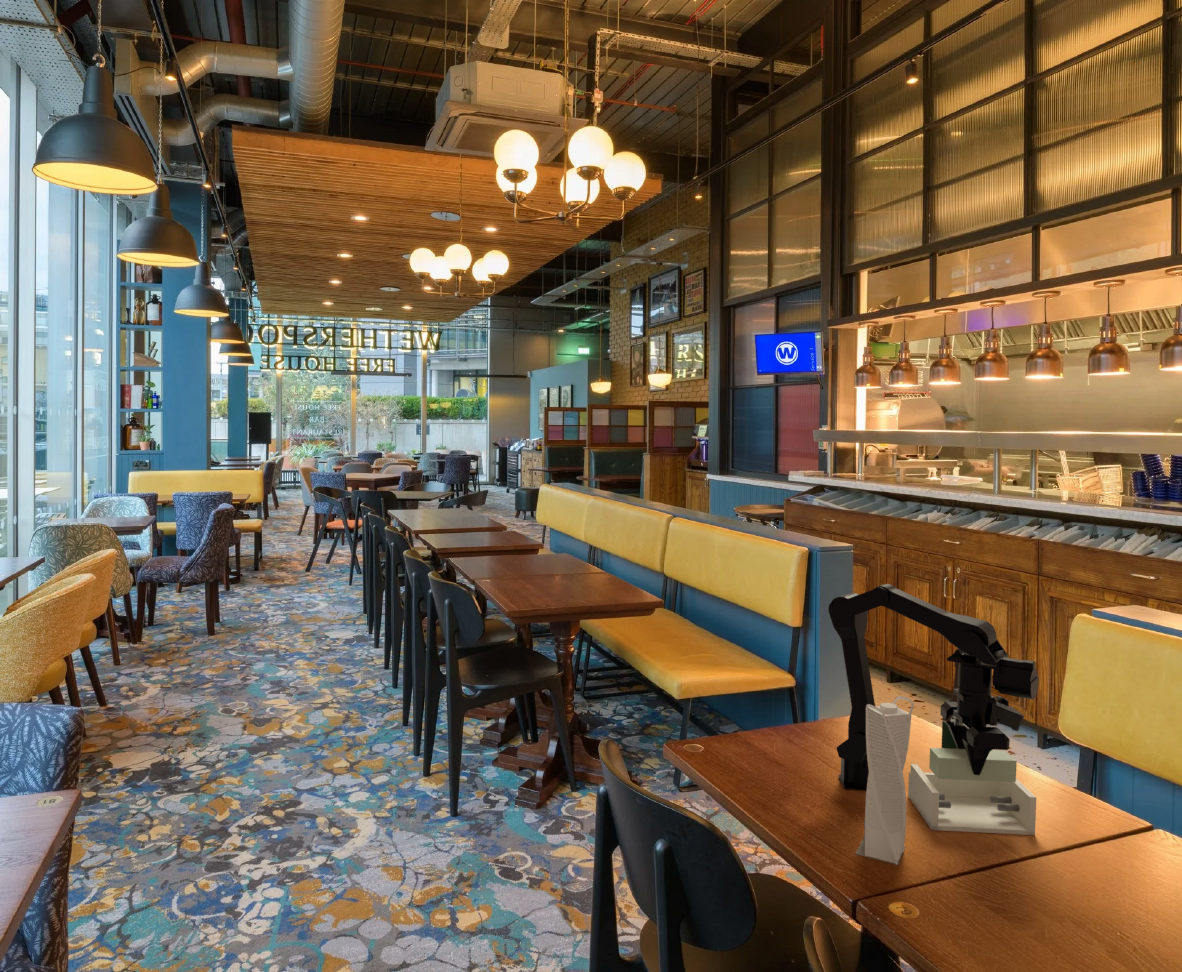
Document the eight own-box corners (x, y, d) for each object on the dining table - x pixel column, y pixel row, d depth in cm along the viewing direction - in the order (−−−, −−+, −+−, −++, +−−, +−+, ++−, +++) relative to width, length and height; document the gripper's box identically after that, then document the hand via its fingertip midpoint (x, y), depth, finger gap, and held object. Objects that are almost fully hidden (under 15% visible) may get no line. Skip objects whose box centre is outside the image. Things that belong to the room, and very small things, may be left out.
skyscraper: (914, 851, 142) (918, 693, 141) (905, 872, 135) (910, 706, 134) (864, 839, 146) (868, 685, 145) (853, 858, 139) (858, 697, 138)
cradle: (931, 829, 149) (932, 792, 149) (908, 796, 164) (909, 761, 163) (1035, 835, 148) (1036, 797, 147) (1002, 800, 162) (1003, 766, 162)
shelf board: (938, 778, 152) (939, 757, 152) (929, 768, 157) (930, 747, 157) (1015, 781, 151) (1016, 760, 151) (1004, 771, 156) (1005, 750, 156)
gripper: (1041, 705, 143) (1038, 792, 144) (998, 675, 162) (995, 752, 163) (976, 702, 144) (972, 788, 145) (940, 673, 163) (938, 749, 164)
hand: (971, 768), depth 154 cm, fingers closed on shelf board, 5 cm apart
